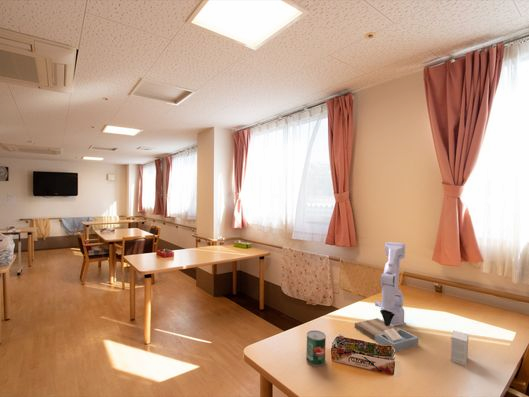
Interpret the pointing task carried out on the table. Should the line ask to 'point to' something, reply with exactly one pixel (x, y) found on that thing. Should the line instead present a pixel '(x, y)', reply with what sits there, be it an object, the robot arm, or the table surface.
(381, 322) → the board
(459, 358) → the small box
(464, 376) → the table surface
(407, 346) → the box
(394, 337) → the tile
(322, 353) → the canned tomato
